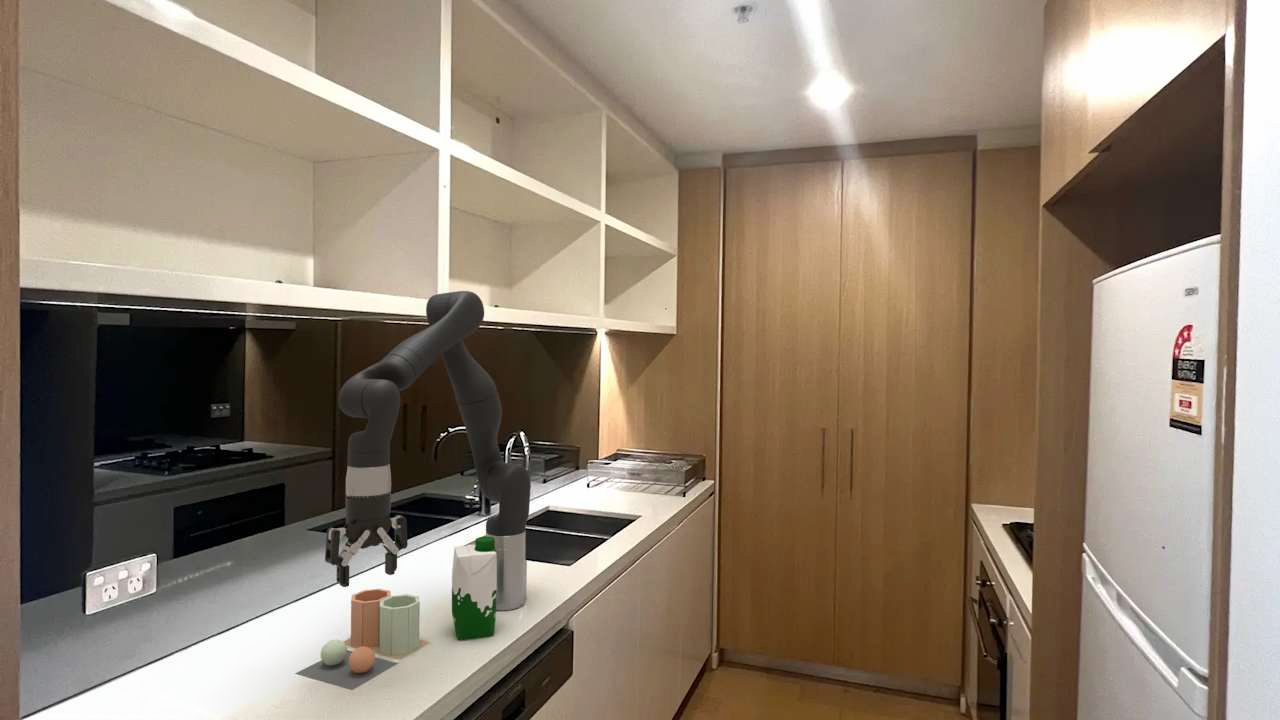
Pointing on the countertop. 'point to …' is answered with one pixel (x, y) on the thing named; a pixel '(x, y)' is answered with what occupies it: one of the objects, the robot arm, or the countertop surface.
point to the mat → (345, 672)
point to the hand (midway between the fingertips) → (367, 579)
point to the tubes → (385, 623)
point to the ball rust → (361, 659)
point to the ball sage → (333, 652)
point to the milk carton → (474, 589)
